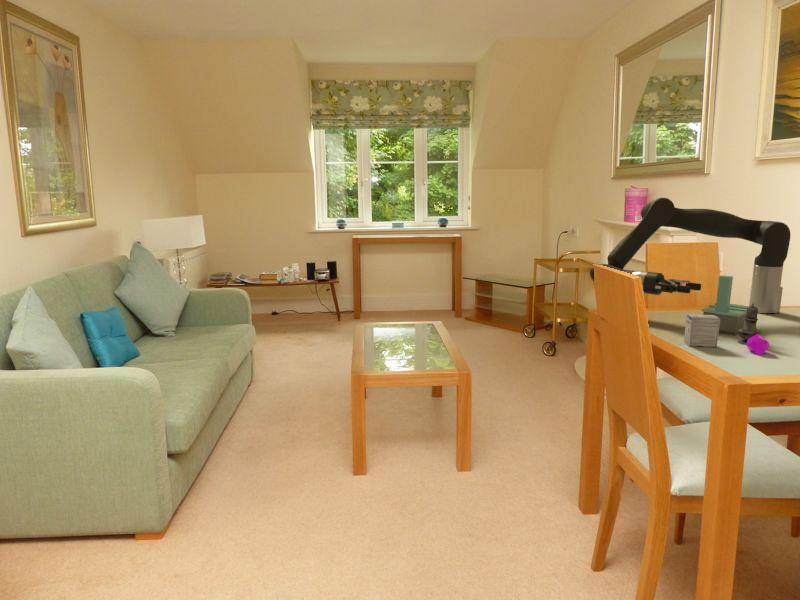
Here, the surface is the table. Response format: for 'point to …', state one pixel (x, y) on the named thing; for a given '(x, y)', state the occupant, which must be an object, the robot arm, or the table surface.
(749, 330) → the grey chess bishop
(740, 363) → the table surface
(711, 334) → the medicine box
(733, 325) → the tub
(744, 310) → the lid
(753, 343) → the magenta icosahedron
